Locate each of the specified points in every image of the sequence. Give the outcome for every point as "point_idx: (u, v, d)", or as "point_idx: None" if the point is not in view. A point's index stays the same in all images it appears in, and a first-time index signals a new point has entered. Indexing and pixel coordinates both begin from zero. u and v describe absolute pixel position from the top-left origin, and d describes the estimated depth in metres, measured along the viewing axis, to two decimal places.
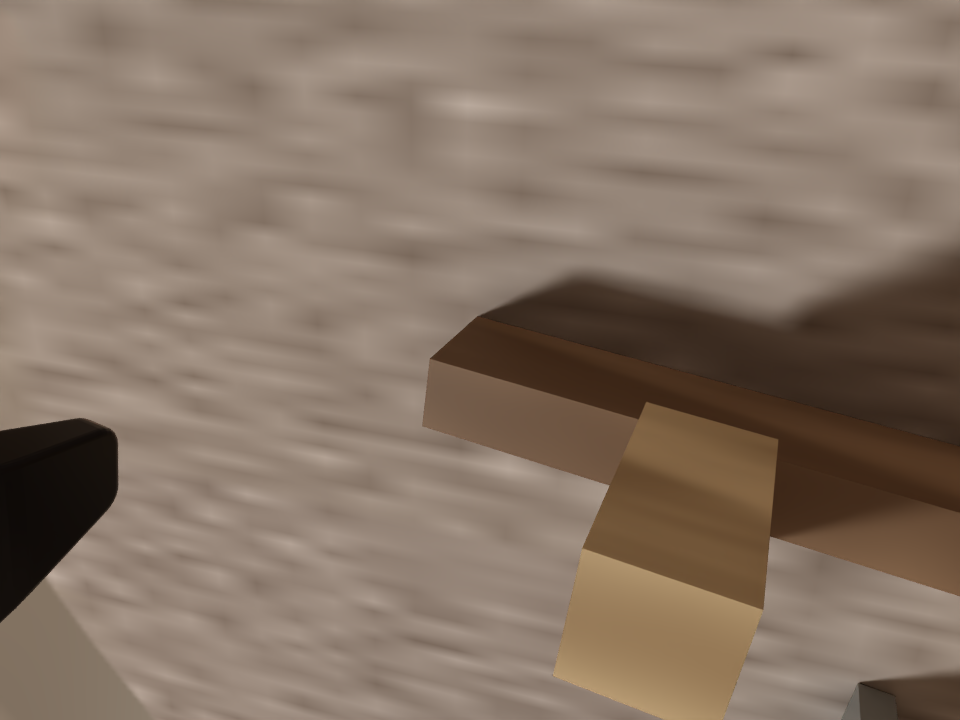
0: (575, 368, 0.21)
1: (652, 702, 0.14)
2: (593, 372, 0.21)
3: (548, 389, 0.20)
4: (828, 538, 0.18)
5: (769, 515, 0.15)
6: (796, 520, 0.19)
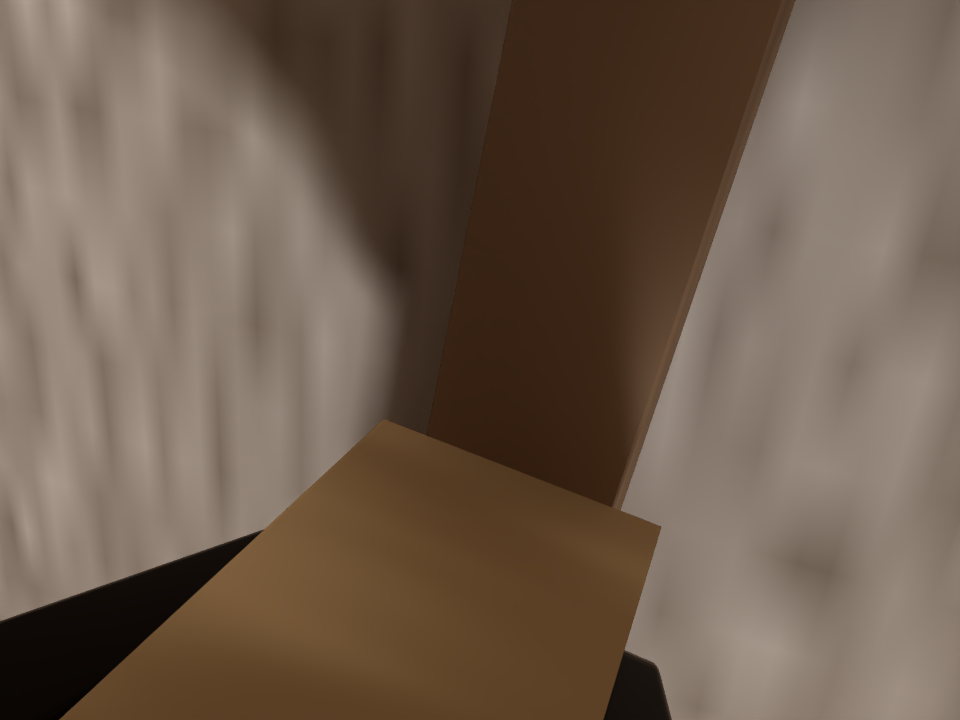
0: None
1: None
2: None
3: None
4: (616, 338, 0.07)
5: (176, 615, 0.06)
6: (574, 404, 0.08)
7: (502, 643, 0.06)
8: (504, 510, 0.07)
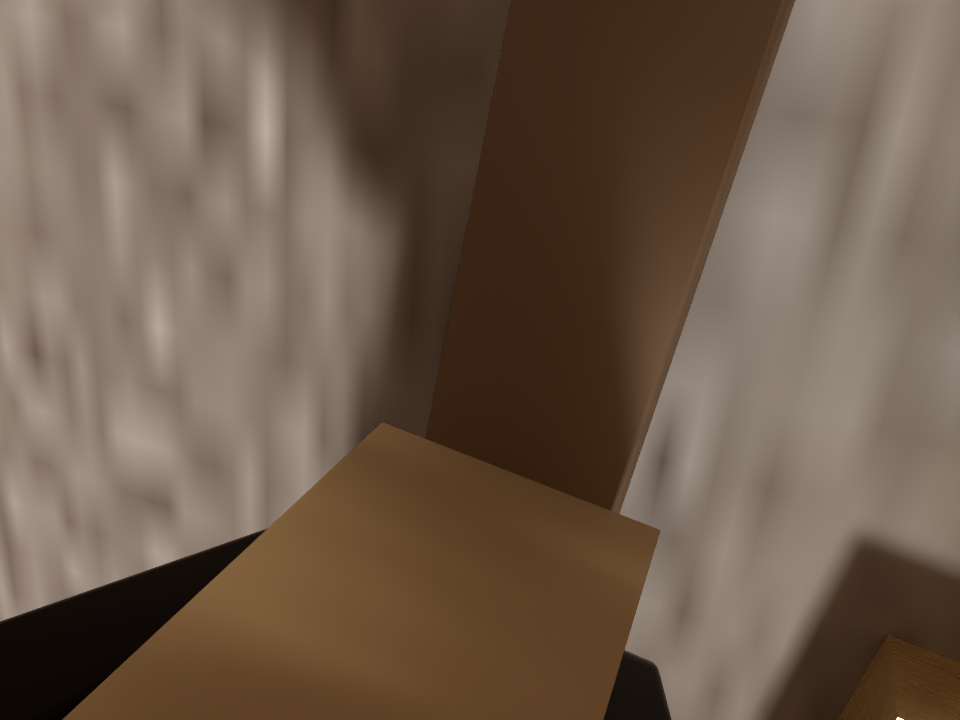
0: None
1: None
2: None
3: None
4: (615, 342, 0.07)
5: (173, 621, 0.06)
6: (573, 407, 0.08)
7: (500, 648, 0.06)
8: (503, 514, 0.07)
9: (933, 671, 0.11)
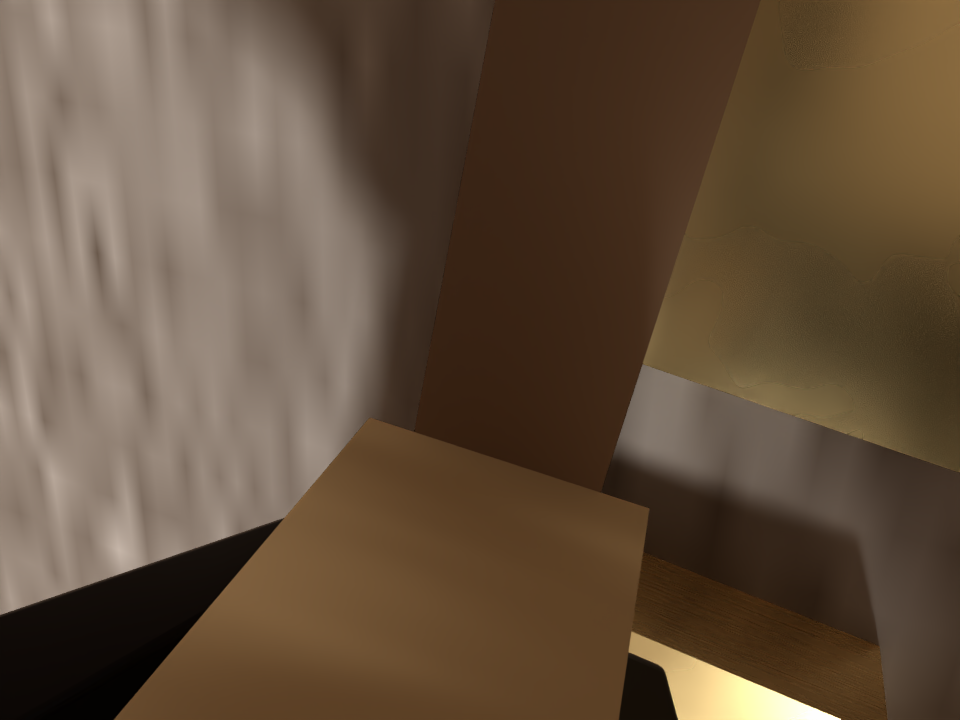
0: None
1: None
2: None
3: None
4: (604, 329, 0.07)
5: (193, 630, 0.06)
6: (563, 394, 0.08)
7: (516, 632, 0.06)
8: (500, 502, 0.08)
9: None
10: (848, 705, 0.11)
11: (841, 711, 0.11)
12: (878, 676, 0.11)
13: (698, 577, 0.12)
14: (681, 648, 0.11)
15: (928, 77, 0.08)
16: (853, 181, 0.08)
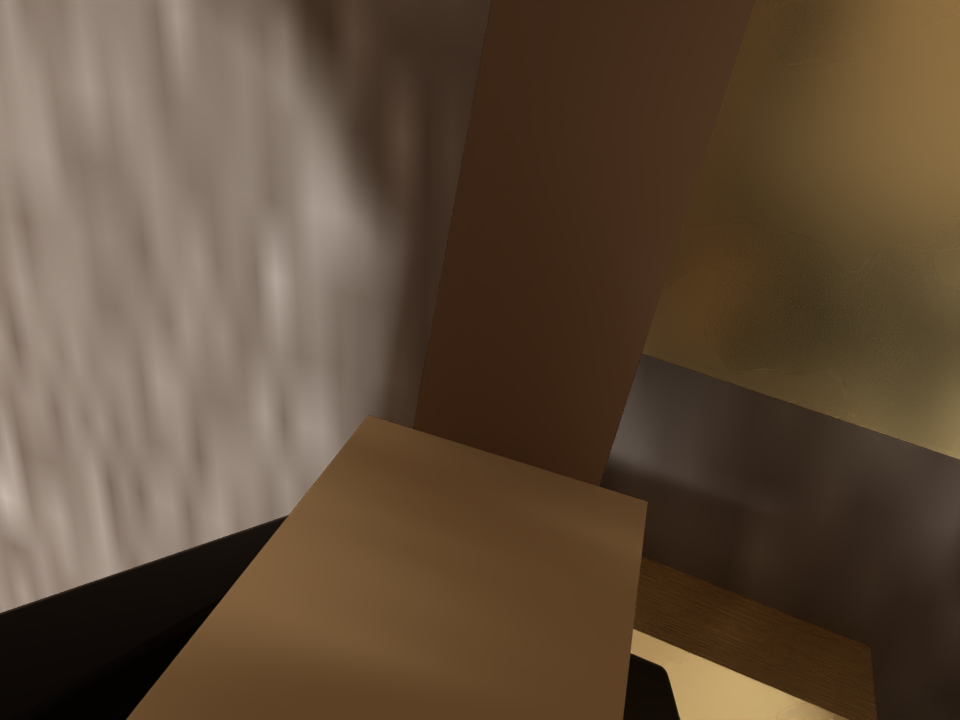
0: None
1: None
2: None
3: None
4: (602, 325, 0.07)
5: (201, 629, 0.06)
6: (561, 390, 0.08)
7: (522, 626, 0.06)
8: (500, 497, 0.08)
9: None
10: (838, 698, 0.11)
11: (831, 703, 0.11)
12: (868, 671, 0.12)
13: None
14: (674, 642, 0.11)
15: (913, 71, 0.08)
16: (841, 172, 0.08)
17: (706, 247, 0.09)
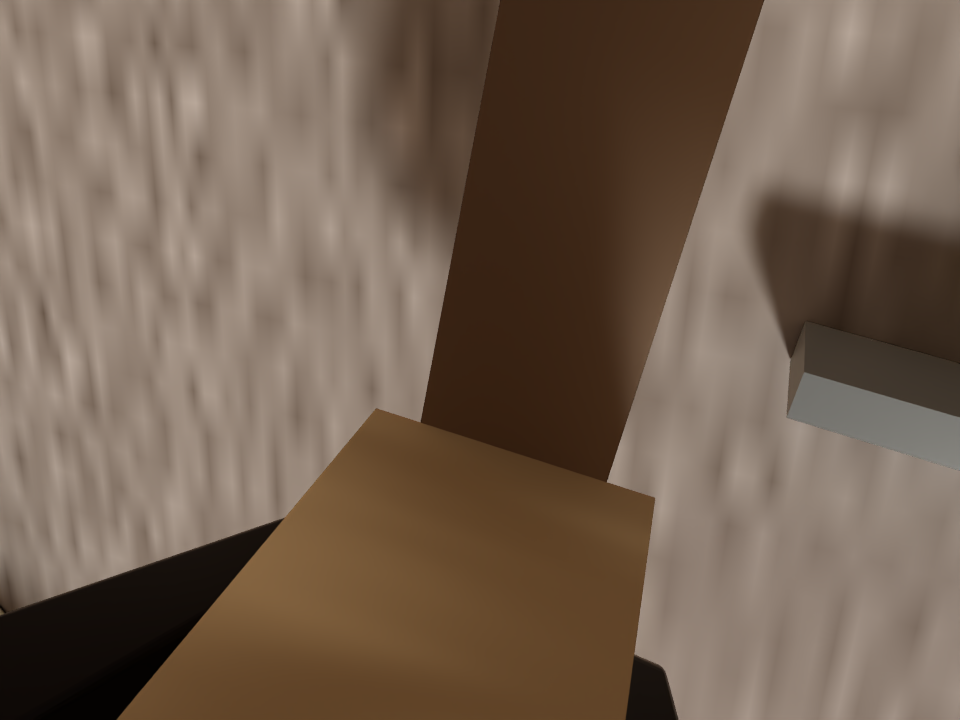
0: None
1: None
2: None
3: None
4: (610, 319, 0.07)
5: (205, 617, 0.06)
6: (569, 384, 0.08)
7: (526, 620, 0.06)
8: (507, 491, 0.08)
9: None
10: None
11: None
12: None
13: None
14: None
15: None
16: None
17: None
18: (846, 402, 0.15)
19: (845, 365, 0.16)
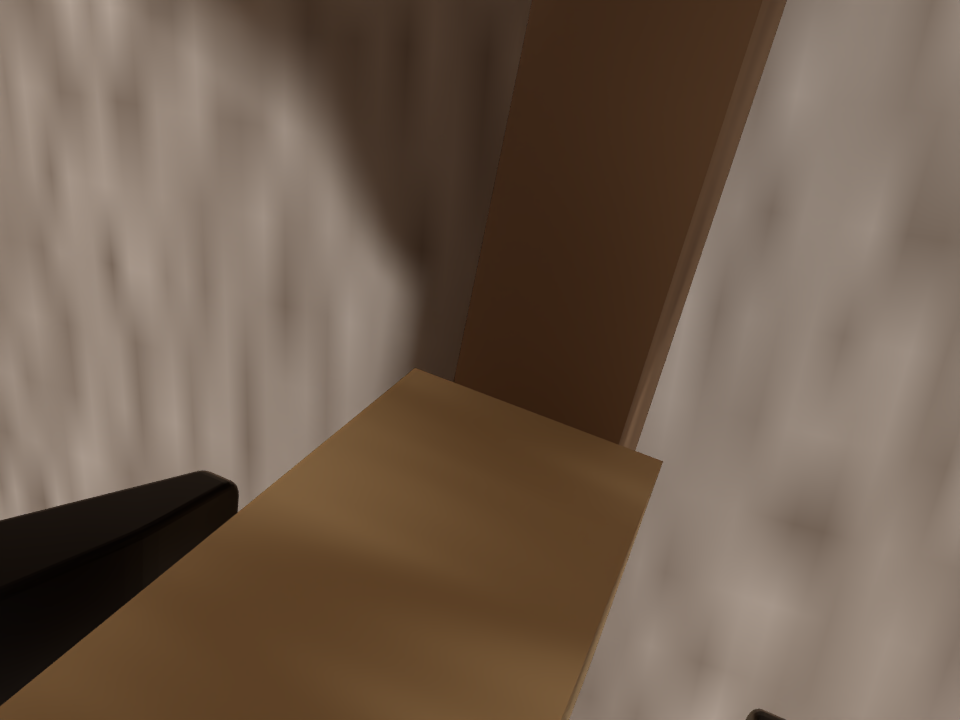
0: None
1: None
2: None
3: None
4: (624, 290, 0.08)
5: (244, 511, 0.07)
6: (586, 350, 0.09)
7: (521, 543, 0.07)
8: (523, 443, 0.08)
9: None
10: None
11: None
12: None
13: None
14: None
15: None
16: None
17: None
18: None
19: None
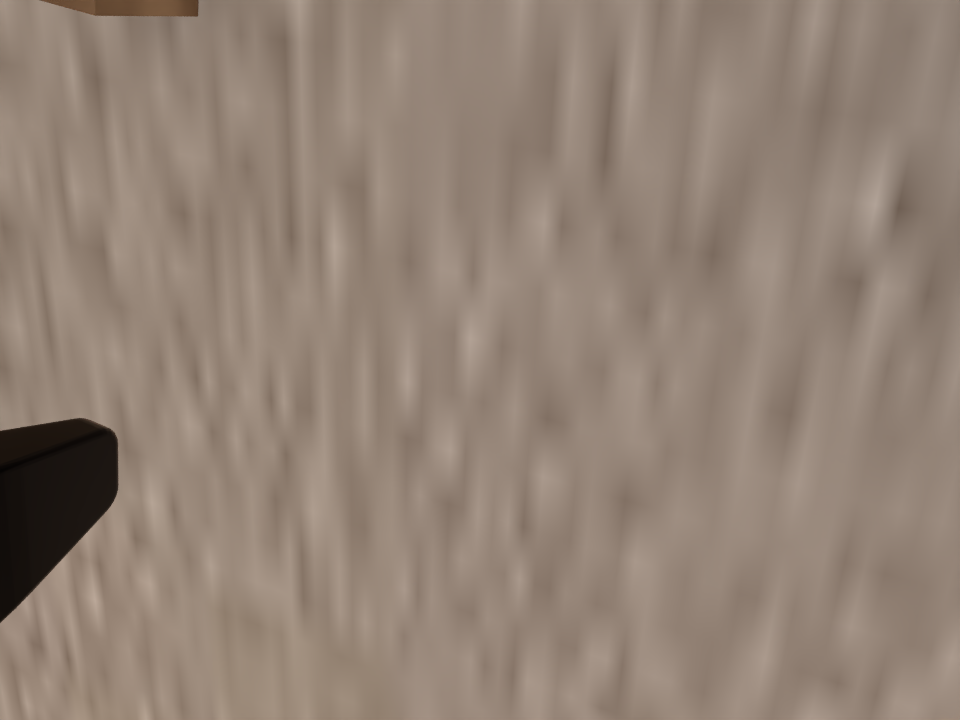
0: None
1: None
2: None
3: None
4: None
5: None
6: None
7: None
8: None
9: None
10: None
11: None
12: None
13: None
14: None
15: None
16: None
17: None
18: None
19: None
